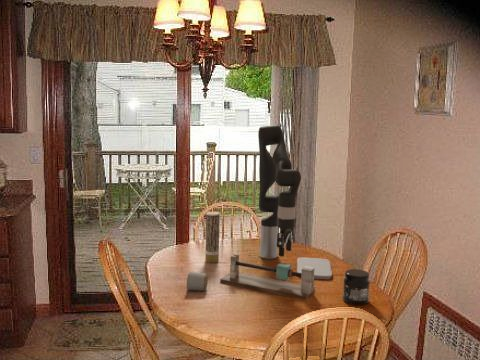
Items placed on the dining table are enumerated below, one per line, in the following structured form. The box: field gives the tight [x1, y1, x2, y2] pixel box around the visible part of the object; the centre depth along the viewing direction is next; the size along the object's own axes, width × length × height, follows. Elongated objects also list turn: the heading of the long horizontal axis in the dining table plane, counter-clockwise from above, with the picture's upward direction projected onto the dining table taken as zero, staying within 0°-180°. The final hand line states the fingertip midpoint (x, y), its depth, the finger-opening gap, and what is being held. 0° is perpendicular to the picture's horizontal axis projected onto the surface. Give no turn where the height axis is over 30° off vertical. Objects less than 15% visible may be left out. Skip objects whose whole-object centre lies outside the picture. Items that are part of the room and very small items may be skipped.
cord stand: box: [219, 253, 316, 301], centre depth 201 cm, size 12×40×12 cm, turn 64°
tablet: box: [296, 256, 333, 280], centre depth 225 cm, size 16×26×2 cm, turn 173°
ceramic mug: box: [186, 271, 209, 292], centre depth 197 cm, size 11×8×8 cm
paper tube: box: [204, 211, 221, 264], centre depth 232 cm, size 7×7×25 cm
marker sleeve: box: [275, 262, 292, 281], centre depth 197 cm, size 5×5×6 cm
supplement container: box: [342, 268, 371, 306], centre depth 188 cm, size 10×10×12 cm
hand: (285, 253), depth 196 cm, fingers open, 8 cm apart
